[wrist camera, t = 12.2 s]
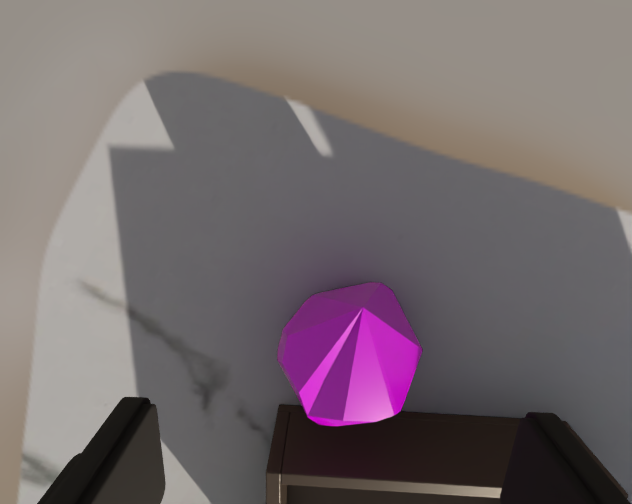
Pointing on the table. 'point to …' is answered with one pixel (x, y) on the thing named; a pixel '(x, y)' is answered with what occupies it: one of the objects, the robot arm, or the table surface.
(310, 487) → the bin
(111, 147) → the table surface
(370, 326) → the crystal
